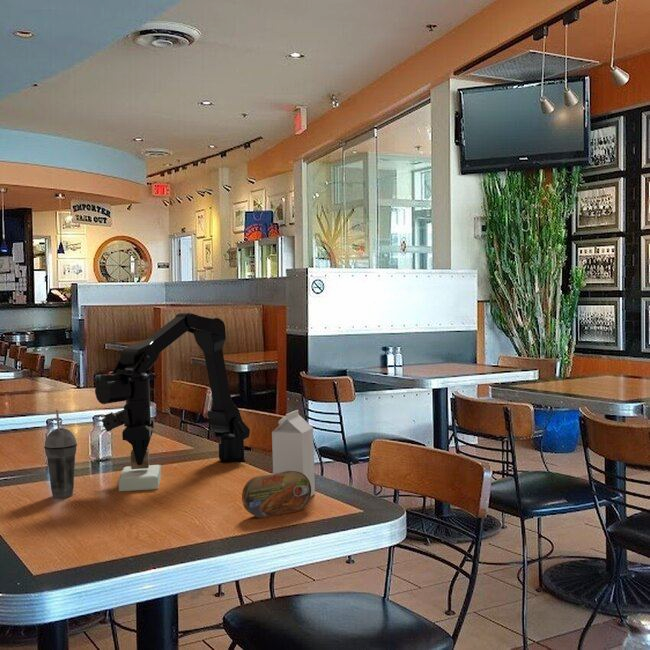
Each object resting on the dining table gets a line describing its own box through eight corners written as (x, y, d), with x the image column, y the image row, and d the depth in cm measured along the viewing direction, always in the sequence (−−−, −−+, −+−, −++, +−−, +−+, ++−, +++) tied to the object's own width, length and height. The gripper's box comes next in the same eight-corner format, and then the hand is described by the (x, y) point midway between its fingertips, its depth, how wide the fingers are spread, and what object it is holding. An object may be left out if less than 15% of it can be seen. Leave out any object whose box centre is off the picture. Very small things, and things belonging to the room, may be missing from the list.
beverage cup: (84, 491, 189) (80, 406, 188) (71, 499, 182) (67, 411, 181) (54, 492, 190) (50, 407, 189) (40, 499, 182) (36, 411, 182)
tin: (247, 521, 161) (245, 479, 161) (240, 517, 164) (239, 476, 163) (312, 509, 168) (311, 469, 168) (305, 506, 171) (304, 466, 171)
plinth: (161, 475, 204) (160, 464, 204) (158, 488, 190) (157, 476, 190) (124, 478, 202) (124, 466, 202) (118, 491, 189) (118, 478, 188)
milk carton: (315, 494, 181) (312, 409, 180) (304, 502, 174) (301, 414, 173) (285, 492, 183) (283, 409, 182) (273, 500, 176) (271, 413, 176)
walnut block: (149, 464, 198) (148, 448, 198) (148, 468, 194) (147, 451, 194) (132, 465, 198) (132, 449, 198) (131, 469, 194) (130, 452, 194)
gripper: (108, 395, 203) (110, 457, 204) (98, 405, 185) (101, 473, 186) (153, 393, 205) (155, 454, 206) (148, 403, 187) (150, 470, 187)
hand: (140, 462), depth 196 cm, fingers closed on walnut block, 4 cm apart
